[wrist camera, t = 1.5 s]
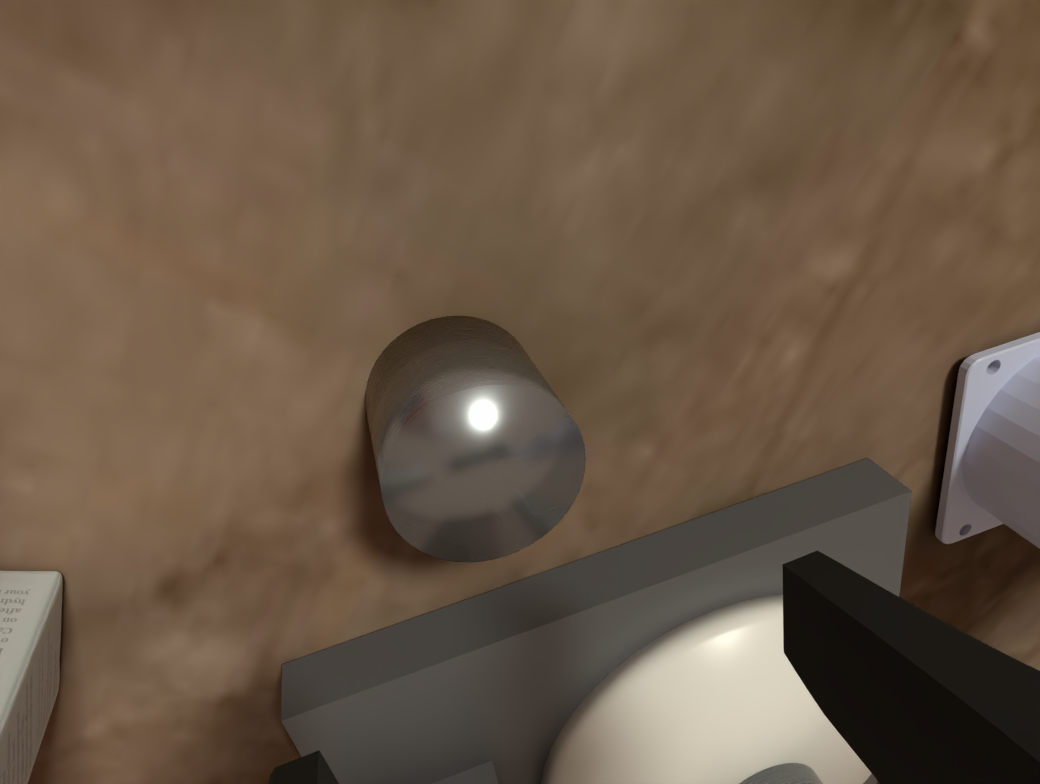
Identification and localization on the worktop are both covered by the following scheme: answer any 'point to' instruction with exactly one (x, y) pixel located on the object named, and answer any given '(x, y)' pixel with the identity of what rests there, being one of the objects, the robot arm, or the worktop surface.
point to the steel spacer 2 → (785, 775)
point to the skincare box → (27, 666)
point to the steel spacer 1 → (470, 441)
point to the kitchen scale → (610, 659)
